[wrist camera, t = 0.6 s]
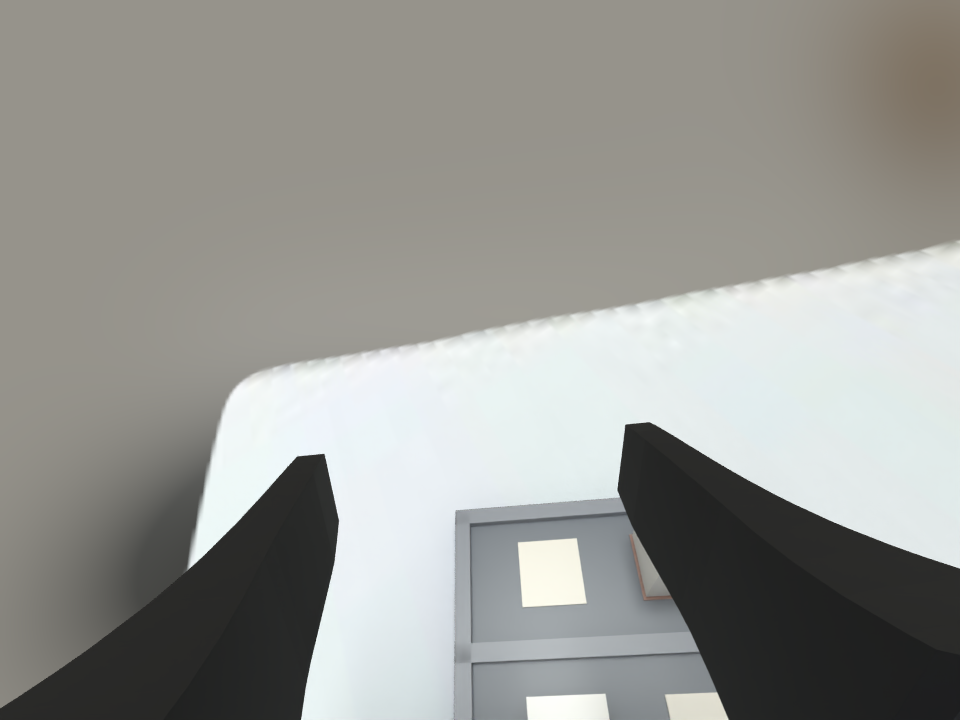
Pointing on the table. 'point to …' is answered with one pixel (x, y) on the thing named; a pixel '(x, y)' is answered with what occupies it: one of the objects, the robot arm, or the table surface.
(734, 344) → the table surface
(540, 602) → the grey sorting tray
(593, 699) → the tab
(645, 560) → the tab
